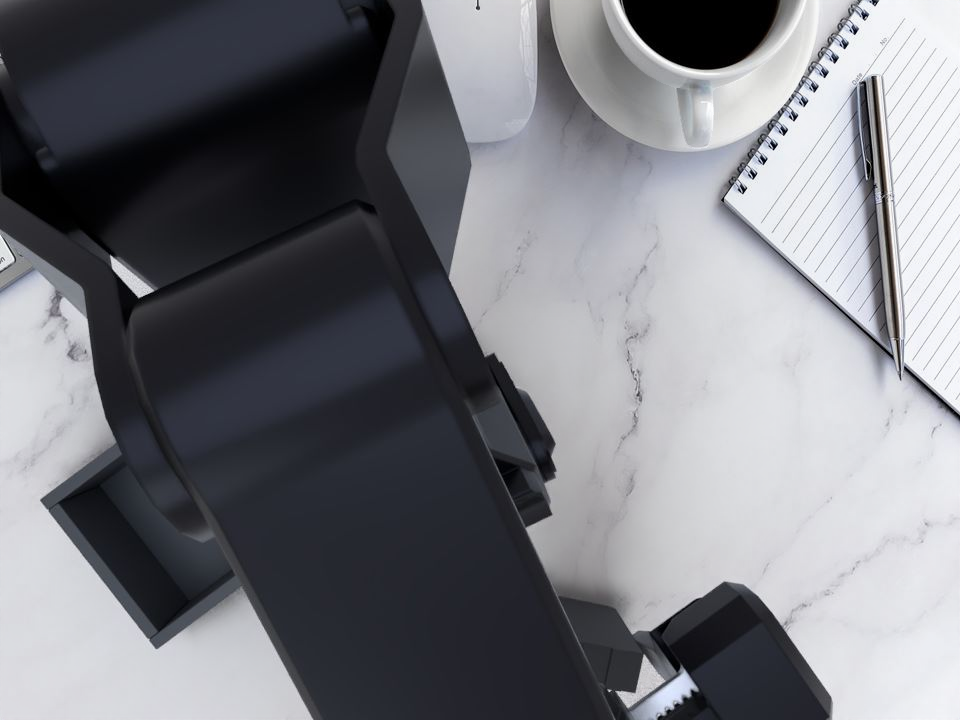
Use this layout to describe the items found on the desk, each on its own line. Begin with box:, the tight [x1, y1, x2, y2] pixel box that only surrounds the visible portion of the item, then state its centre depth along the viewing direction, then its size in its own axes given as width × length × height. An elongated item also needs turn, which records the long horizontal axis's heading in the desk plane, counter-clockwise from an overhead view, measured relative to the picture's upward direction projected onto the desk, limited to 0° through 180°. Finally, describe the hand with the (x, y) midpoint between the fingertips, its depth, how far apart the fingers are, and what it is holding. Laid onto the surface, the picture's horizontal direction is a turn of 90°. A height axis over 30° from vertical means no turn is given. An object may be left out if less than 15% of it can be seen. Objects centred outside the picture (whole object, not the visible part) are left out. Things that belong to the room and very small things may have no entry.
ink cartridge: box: [557, 595, 645, 694], centre depth 48 cm, size 5×2×8 cm, turn 77°
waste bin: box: [39, 442, 242, 650], centre depth 48 cm, size 10×10×6 cm
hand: (562, 696), depth 41 cm, fingers open, 9 cm apart
